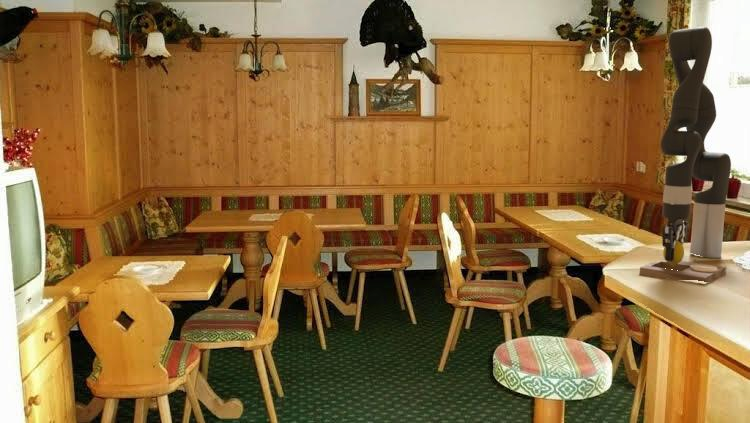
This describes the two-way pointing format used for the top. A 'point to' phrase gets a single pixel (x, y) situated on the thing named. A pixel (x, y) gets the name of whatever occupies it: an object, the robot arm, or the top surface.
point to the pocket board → (680, 271)
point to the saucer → (703, 268)
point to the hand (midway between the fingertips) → (673, 258)
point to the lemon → (676, 253)
